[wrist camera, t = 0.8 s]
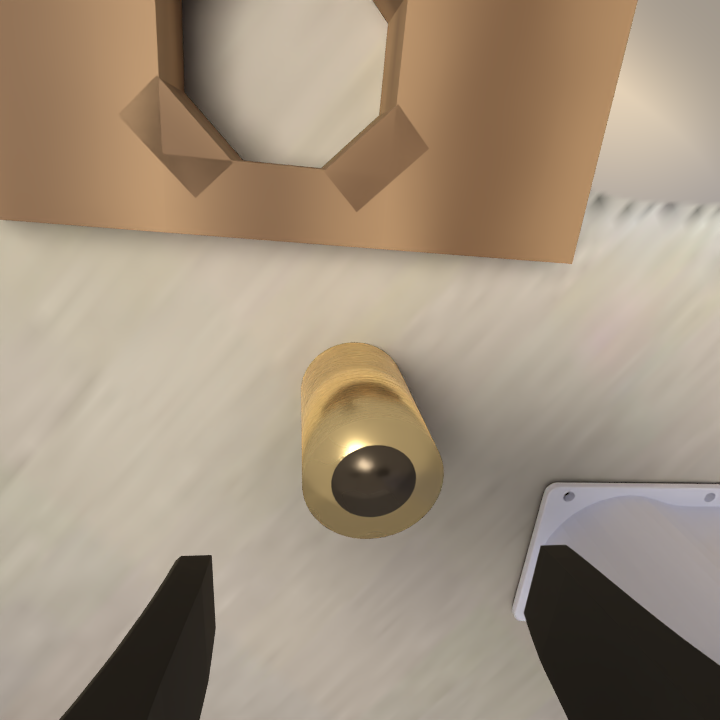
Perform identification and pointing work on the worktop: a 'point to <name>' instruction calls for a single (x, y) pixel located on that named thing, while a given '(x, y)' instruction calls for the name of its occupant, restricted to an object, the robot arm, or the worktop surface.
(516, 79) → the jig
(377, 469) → the bushing
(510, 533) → the worktop surface
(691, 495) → the robot arm
